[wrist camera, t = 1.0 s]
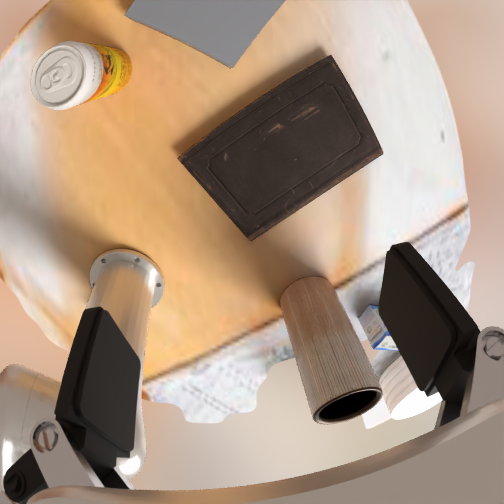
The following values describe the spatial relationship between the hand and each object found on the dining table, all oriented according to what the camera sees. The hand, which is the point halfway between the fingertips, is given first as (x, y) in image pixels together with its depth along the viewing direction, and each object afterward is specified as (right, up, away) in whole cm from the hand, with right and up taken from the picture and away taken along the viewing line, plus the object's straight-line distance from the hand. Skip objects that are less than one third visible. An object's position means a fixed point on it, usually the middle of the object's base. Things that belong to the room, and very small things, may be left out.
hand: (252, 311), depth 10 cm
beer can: (-17, +24, +20) cm, 35 cm away
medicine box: (+26, -11, +50) cm, 58 cm away
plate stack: (+51, -33, +69) cm, 92 cm away
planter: (+10, -6, +44) cm, 46 cm away
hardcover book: (+4, +16, +29) cm, 33 cm away
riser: (-4, +32, +16) cm, 36 cm away
